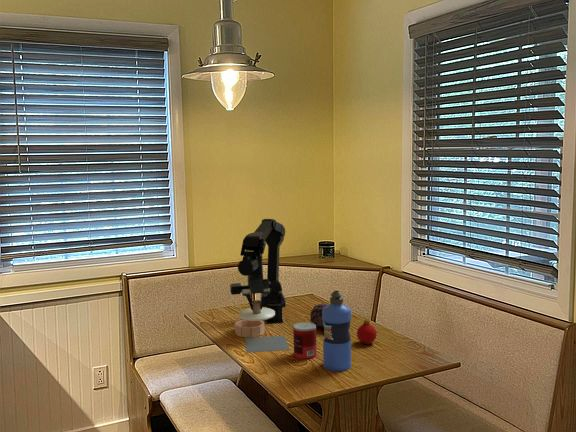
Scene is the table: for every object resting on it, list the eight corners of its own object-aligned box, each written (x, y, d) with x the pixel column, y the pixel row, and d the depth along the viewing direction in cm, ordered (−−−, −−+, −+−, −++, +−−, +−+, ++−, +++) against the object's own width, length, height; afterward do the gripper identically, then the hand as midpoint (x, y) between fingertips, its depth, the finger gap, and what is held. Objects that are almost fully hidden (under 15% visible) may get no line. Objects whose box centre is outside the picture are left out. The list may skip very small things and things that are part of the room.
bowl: (263, 327, 234) (262, 318, 233) (265, 337, 222) (265, 327, 222) (234, 329, 232) (234, 319, 232) (236, 339, 221) (235, 329, 220)
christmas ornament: (371, 338, 218) (371, 312, 217) (380, 345, 212) (380, 318, 210) (353, 341, 216) (353, 314, 215) (362, 347, 210) (361, 320, 208)
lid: (272, 308, 228) (272, 294, 228) (277, 319, 215) (276, 305, 214) (237, 310, 226) (236, 297, 226) (240, 322, 213) (239, 308, 212)
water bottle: (331, 373, 187) (330, 296, 184) (318, 363, 196) (316, 289, 192) (356, 368, 191) (356, 292, 188) (342, 358, 199) (342, 286, 196)
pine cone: (344, 334, 224) (344, 308, 223) (320, 337, 221) (320, 311, 220) (327, 320, 241) (327, 297, 240) (304, 323, 238) (304, 299, 237)
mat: (284, 336, 223) (284, 335, 223) (289, 350, 208) (289, 349, 208) (244, 339, 221) (244, 338, 221) (247, 353, 206) (247, 352, 206)
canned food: (319, 353, 205) (318, 323, 203) (312, 362, 197) (312, 330, 196) (298, 351, 207) (297, 321, 206) (290, 359, 200) (290, 328, 198)
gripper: (230, 276, 209) (232, 318, 211) (283, 272, 212) (284, 314, 214) (229, 268, 220) (231, 309, 222) (278, 265, 223) (280, 305, 225)
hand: (256, 309), depth 221 cm, fingers closed on lid, 3 cm apart
